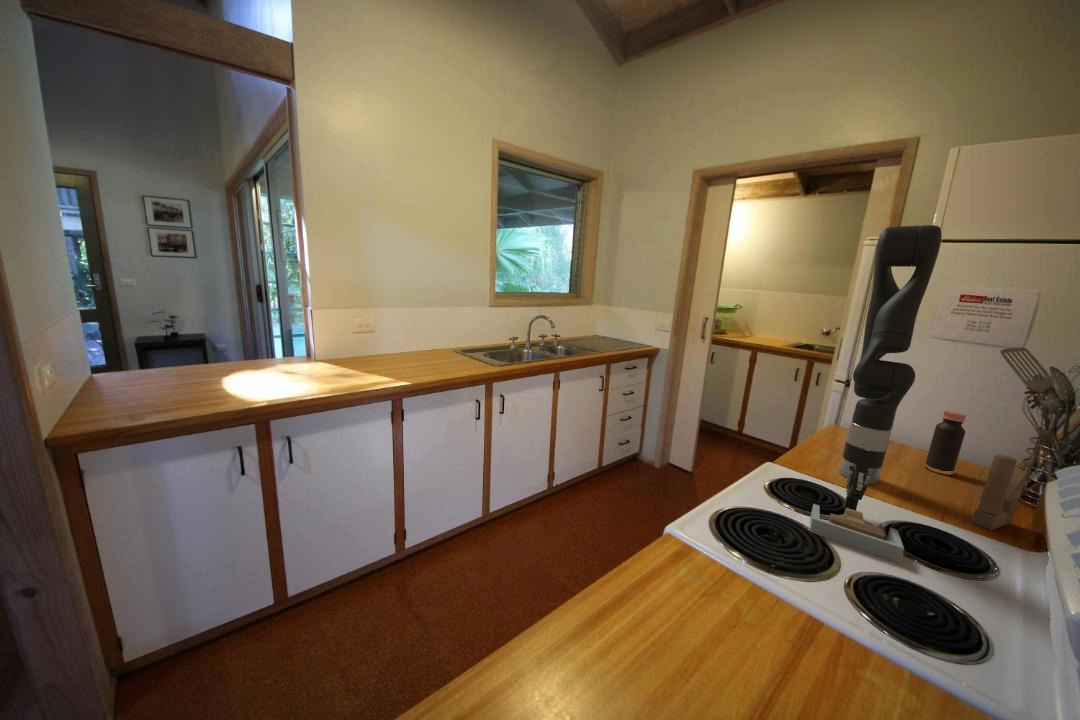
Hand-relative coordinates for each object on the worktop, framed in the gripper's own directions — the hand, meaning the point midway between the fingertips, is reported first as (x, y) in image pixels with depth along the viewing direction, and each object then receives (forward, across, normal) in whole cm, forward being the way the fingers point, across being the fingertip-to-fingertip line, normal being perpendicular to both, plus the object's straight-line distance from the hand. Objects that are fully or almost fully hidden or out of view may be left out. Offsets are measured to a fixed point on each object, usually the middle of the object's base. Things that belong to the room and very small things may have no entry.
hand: (849, 510), depth 98 cm
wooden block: (+2, -23, +30) cm, 38 cm away
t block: (+1, +11, 0) cm, 11 cm away
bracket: (+1, +11, 0) cm, 11 cm away
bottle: (+2, -60, +27) cm, 66 cm away
